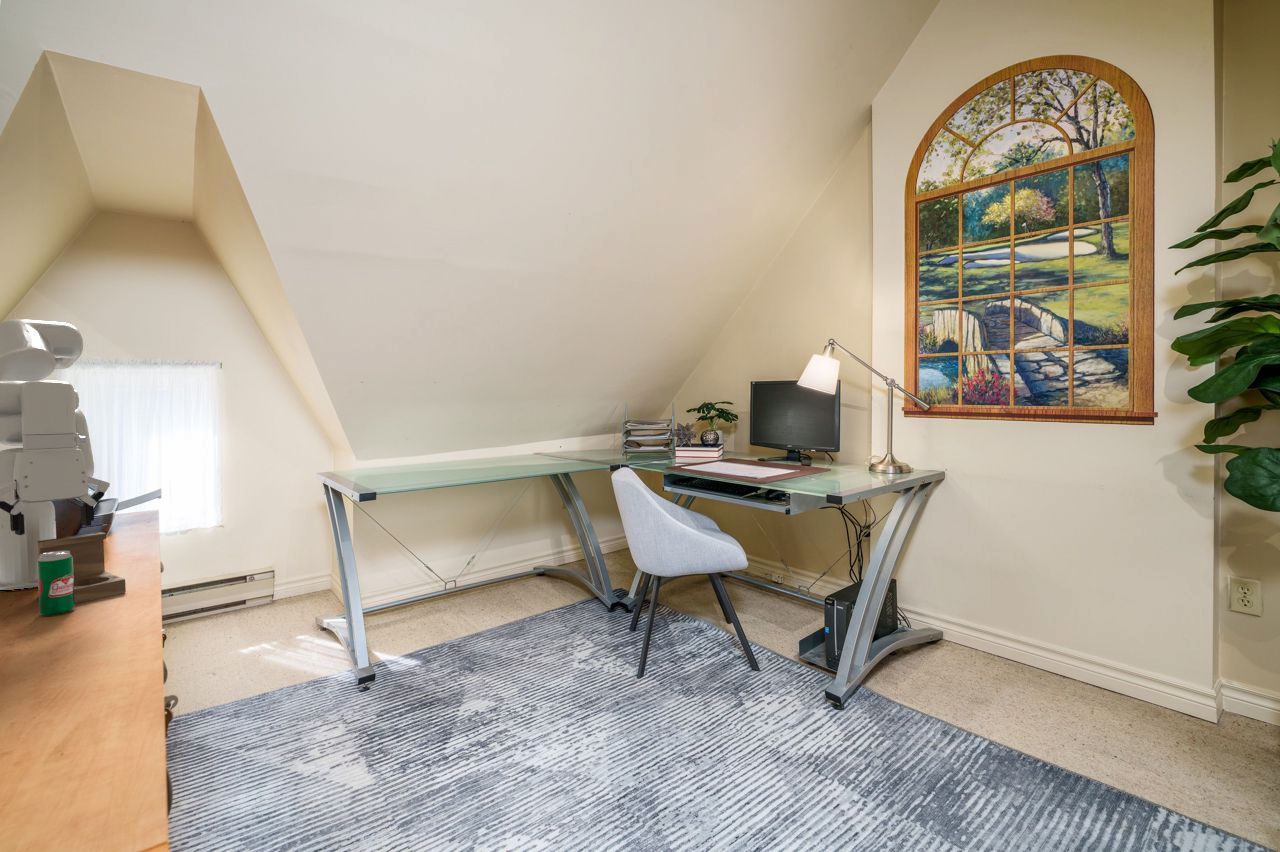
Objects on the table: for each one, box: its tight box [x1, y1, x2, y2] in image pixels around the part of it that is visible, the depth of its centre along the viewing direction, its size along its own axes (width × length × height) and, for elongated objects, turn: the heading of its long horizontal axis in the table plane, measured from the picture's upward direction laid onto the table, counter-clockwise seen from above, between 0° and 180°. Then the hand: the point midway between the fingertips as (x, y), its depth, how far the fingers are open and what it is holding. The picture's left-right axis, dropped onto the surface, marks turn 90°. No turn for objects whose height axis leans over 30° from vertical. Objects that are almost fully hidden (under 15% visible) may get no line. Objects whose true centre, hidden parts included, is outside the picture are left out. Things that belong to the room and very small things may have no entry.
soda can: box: [37, 551, 76, 617], centre depth 118 cm, size 5×5×12 cm
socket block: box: [38, 531, 127, 605], centre depth 129 cm, size 14×10×12 cm
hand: (54, 529), depth 117 cm, fingers open, 9 cm apart
